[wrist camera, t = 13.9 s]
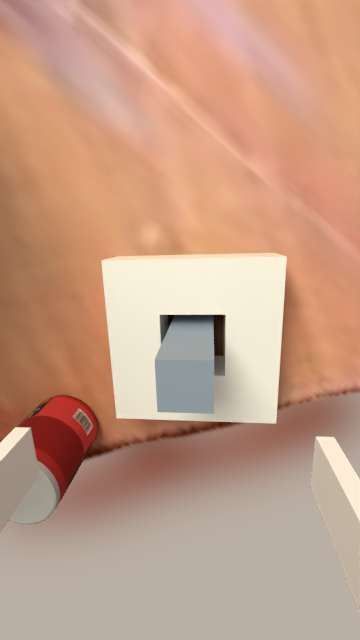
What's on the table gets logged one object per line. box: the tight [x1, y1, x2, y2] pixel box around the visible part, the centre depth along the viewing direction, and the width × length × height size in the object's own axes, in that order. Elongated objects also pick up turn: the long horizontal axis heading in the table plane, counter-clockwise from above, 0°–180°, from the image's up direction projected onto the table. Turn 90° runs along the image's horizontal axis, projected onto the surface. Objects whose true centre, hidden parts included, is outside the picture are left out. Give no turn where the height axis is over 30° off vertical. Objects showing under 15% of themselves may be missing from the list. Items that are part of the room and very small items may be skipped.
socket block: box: [101, 253, 287, 424], centre depth 31 cm, size 16×16×5 cm
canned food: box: [8, 395, 97, 524], centre depth 33 cm, size 8×8×11 cm
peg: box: [155, 315, 214, 414], centre depth 27 cm, size 4×4×13 cm
